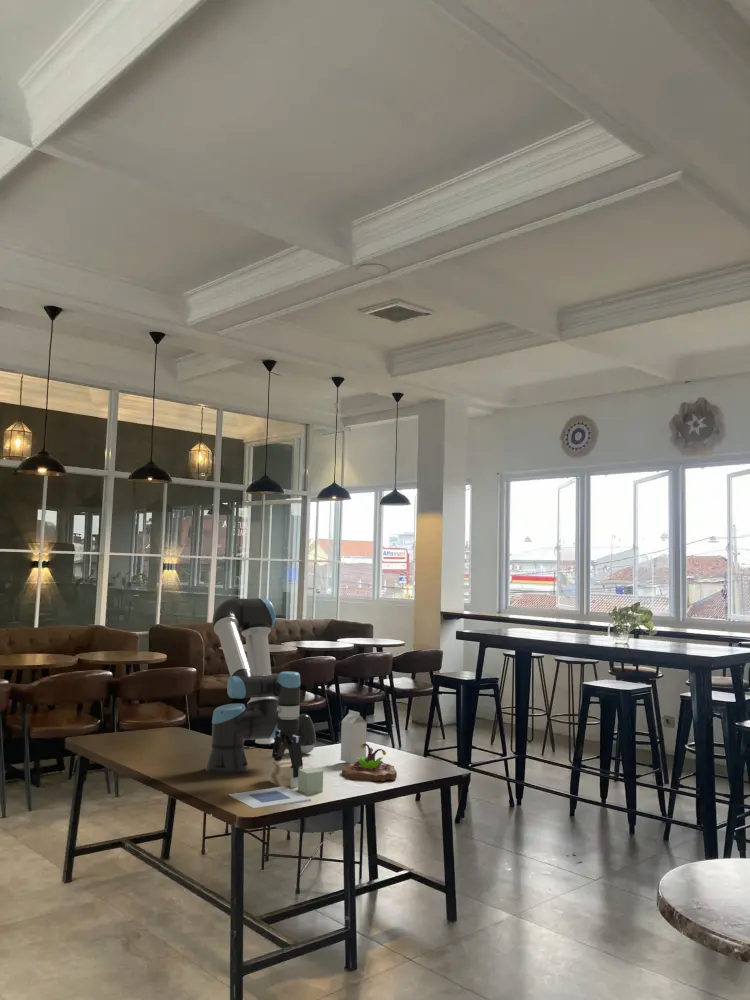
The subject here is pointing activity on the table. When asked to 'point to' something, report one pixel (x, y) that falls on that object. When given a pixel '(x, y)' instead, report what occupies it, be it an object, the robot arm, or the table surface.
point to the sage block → (310, 780)
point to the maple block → (281, 773)
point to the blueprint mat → (270, 797)
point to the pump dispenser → (306, 733)
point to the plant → (369, 768)
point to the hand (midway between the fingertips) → (286, 783)
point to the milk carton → (353, 737)
